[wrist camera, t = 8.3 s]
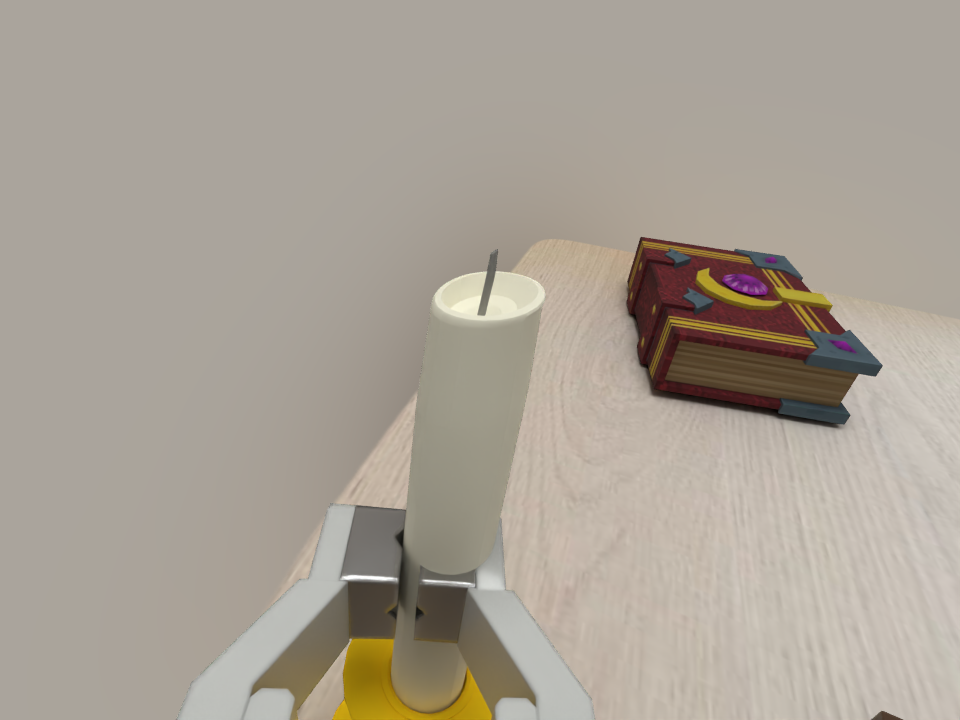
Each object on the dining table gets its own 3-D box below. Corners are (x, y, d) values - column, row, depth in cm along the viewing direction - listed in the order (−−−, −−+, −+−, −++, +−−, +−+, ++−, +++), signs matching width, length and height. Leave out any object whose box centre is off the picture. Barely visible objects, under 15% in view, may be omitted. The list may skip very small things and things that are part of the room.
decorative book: (646, 396, 31) (674, 323, 28) (620, 279, 45) (637, 222, 42) (843, 429, 31) (890, 358, 28) (757, 301, 44) (783, 244, 41)
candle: (287, 862, 13) (160, 312, 4) (354, 651, 17) (356, 162, 9) (496, 906, 13) (783, 424, 4) (511, 682, 17) (671, 216, 9)
